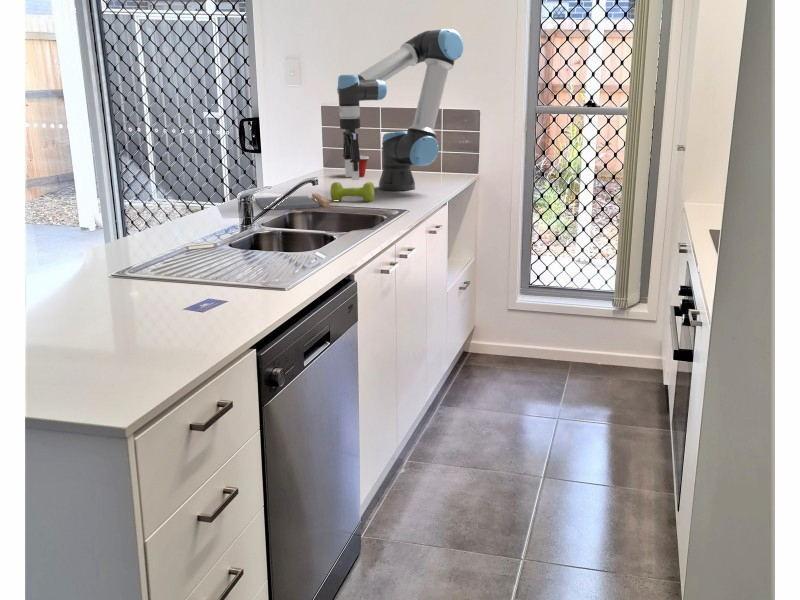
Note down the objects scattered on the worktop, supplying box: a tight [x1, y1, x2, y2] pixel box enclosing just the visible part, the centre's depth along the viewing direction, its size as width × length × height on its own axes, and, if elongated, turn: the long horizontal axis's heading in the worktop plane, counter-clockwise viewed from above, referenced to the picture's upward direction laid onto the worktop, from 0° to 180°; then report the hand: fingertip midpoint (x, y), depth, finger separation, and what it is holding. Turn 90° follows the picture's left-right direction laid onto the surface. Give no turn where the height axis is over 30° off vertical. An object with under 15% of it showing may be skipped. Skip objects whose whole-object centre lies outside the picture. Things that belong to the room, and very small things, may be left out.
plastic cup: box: [359, 155, 370, 179], centre depth 358 cm, size 11×11×12 cm
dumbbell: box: [330, 181, 375, 203], centre depth 298 cm, size 16×8×7 cm, turn 83°
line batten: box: [311, 192, 330, 208], centre depth 295 cm, size 2×24×2 cm, turn 16°
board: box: [254, 195, 320, 210], centre depth 292 cm, size 20×24×1 cm
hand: (352, 178), depth 297 cm, fingers open, 10 cm apart
